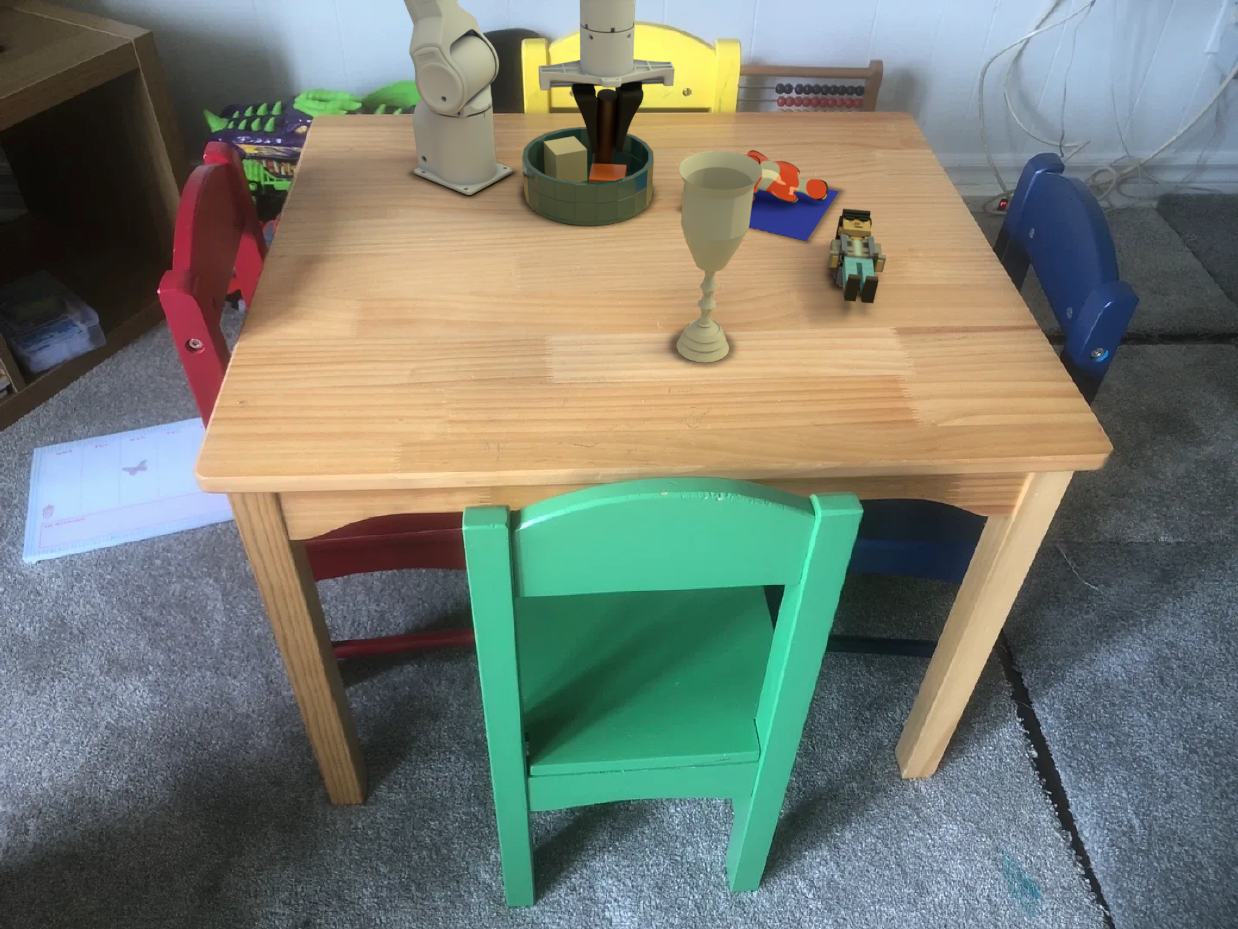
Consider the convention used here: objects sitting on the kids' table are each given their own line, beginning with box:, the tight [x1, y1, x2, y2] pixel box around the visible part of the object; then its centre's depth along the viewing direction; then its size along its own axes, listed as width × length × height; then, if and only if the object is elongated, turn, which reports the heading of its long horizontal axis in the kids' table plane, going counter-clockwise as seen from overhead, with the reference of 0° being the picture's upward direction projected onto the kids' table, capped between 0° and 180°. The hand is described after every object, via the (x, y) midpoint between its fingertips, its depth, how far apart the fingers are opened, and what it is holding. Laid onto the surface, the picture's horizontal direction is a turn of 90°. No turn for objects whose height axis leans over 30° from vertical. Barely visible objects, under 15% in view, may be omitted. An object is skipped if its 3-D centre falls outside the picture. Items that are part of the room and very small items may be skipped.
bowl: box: [521, 126, 655, 227], centre depth 108 cm, size 15×15×5 cm
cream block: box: [544, 136, 587, 182], centre depth 111 cm, size 4×4×4 cm
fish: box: [745, 149, 830, 204], centre depth 107 cm, size 13×5×9 cm
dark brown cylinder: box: [593, 88, 619, 164], centre depth 104 cm, size 2×2×9 cm
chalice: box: [676, 150, 762, 363], centre depth 82 cm, size 7×7×18 cm
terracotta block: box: [589, 163, 626, 183], centre depth 106 cm, size 4×4×4 cm
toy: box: [827, 208, 887, 304], centre depth 96 cm, size 6×4×15 cm
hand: (605, 149), depth 104 cm, fingers closed on dark brown cylinder, 2 cm apart
